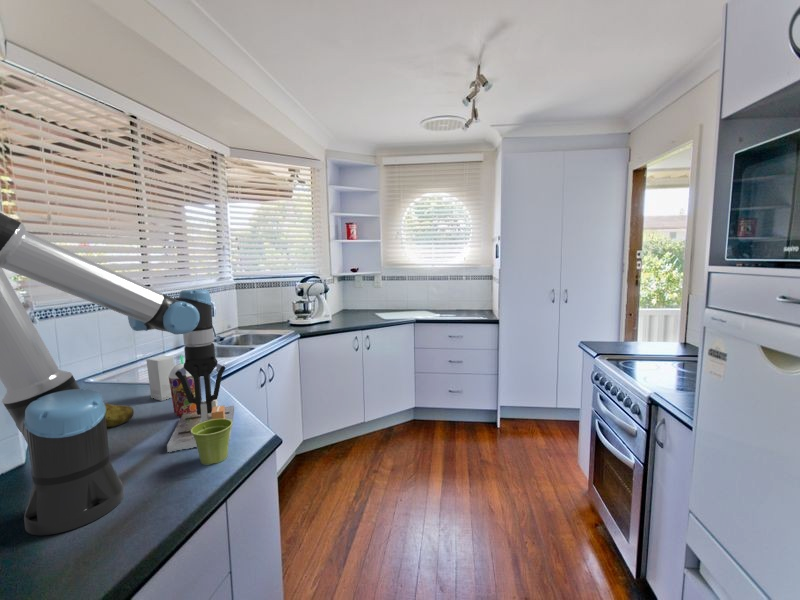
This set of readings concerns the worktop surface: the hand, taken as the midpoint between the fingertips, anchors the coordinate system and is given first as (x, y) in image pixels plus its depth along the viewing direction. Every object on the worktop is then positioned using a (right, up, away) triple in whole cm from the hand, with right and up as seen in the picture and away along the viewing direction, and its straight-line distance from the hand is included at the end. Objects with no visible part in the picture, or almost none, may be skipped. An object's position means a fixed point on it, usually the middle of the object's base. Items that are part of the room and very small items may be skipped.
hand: (205, 424), depth 108 cm
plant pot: (+9, -5, -13) cm, 17 cm away
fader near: (+3, -1, +1) cm, 4 cm away
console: (-3, -3, +5) cm, 6 cm away
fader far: (-3, 0, +10) cm, 11 cm away
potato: (-35, -4, +9) cm, 36 cm away
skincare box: (-34, -2, +35) cm, 49 cm away
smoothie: (-16, -3, +18) cm, 24 cm away
